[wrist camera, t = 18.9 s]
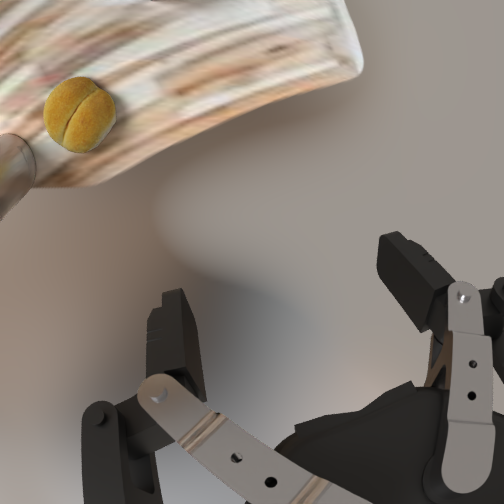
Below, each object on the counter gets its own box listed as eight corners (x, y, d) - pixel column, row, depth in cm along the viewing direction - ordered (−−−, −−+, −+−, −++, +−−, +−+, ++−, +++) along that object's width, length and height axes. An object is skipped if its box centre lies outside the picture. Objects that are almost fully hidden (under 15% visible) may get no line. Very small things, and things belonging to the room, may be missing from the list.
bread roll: (74, 65, 26) (61, 66, 23) (129, 107, 31) (122, 112, 28) (36, 121, 29) (22, 129, 26) (88, 161, 33) (79, 172, 30)
